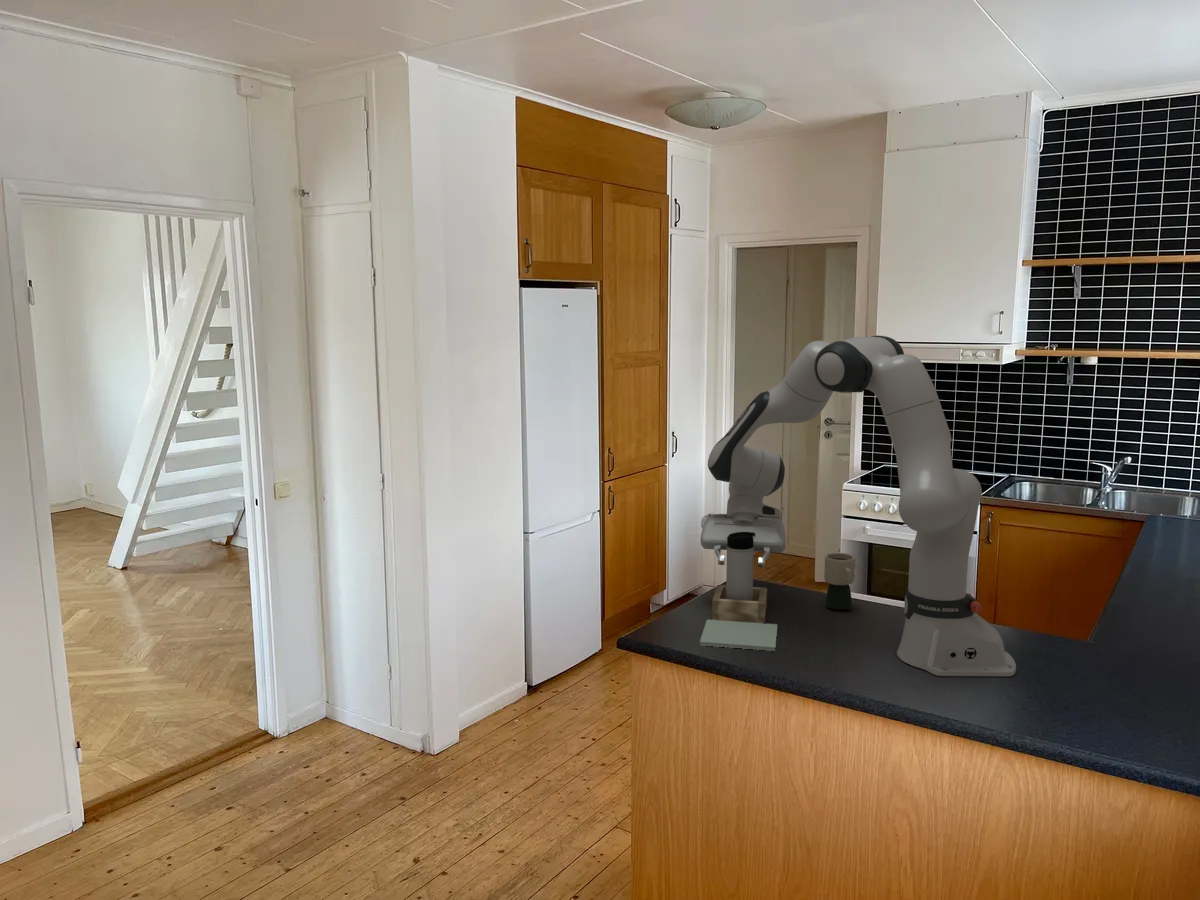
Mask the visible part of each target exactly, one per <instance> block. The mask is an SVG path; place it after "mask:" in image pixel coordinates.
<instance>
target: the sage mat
mask: <svg viewBox="0 0 1200 900" xmlns="http://www.w3.org/2000/svg"><path fill="white" fill-rule="evenodd" d="M777 635H778V624H777V623H765V624H764V623H750V622H736V621H721V620H712V619H706V621H705V624H704V628H703V631H702V633H701V637H700V640H699V647H706V646H709V648H711V647H710V646H713V647H712V648H719V647H725V648H724V649H732V648H742V649H741V650H745V649H753V650H752V651H758V650H766V651H765V652H771V651H775V652H776V649H775V648H777V638H776V637H778V636H777ZM727 647H729V648H727ZM755 649H756V650H755Z"/></svg>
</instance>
